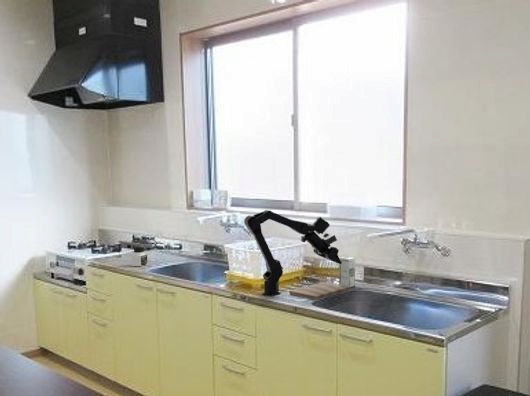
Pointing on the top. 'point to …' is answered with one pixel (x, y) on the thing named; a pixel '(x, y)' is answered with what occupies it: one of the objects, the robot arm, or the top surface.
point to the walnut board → (318, 290)
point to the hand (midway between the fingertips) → (337, 262)
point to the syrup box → (347, 272)
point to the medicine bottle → (139, 257)
